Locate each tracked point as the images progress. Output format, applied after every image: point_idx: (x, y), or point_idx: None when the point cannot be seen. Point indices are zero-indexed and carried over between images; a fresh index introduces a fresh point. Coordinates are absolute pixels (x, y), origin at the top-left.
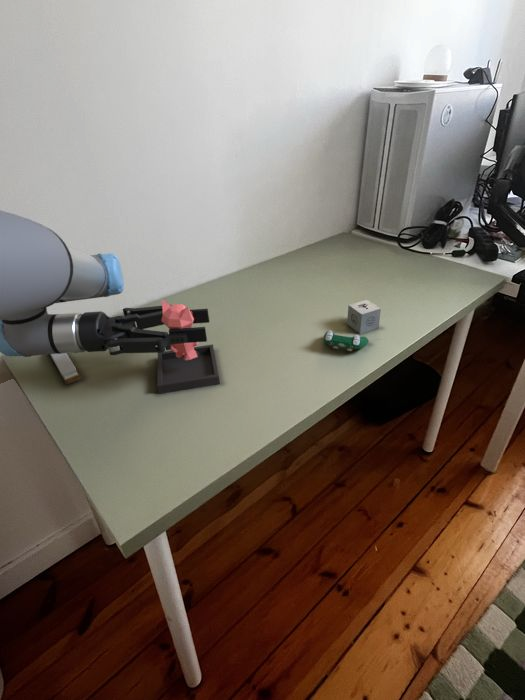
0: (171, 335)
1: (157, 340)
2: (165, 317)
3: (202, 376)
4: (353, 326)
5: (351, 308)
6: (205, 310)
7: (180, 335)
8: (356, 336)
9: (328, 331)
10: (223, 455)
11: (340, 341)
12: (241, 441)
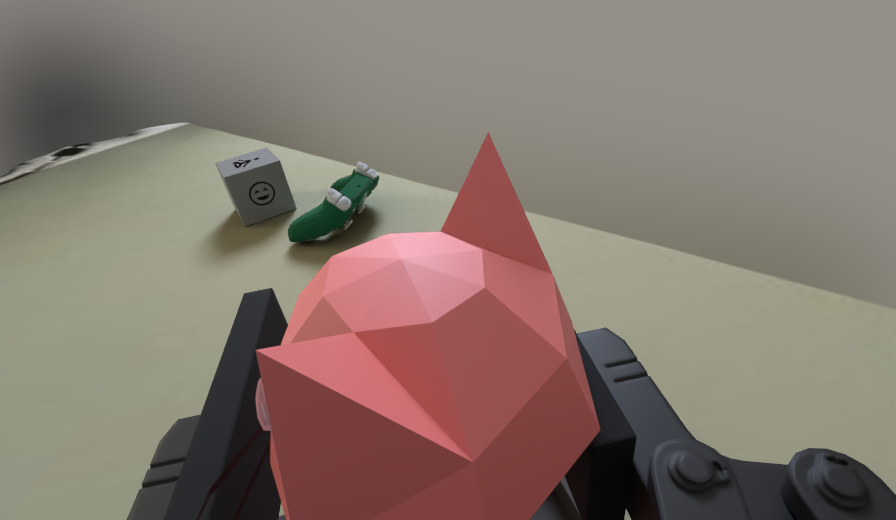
0: (646, 430)
1: (877, 499)
2: (525, 421)
3: (565, 487)
4: (268, 212)
5: (239, 177)
6: (267, 297)
7: (616, 360)
8: (361, 164)
9: (329, 193)
10: (890, 340)
11: (362, 190)
12: (794, 315)
